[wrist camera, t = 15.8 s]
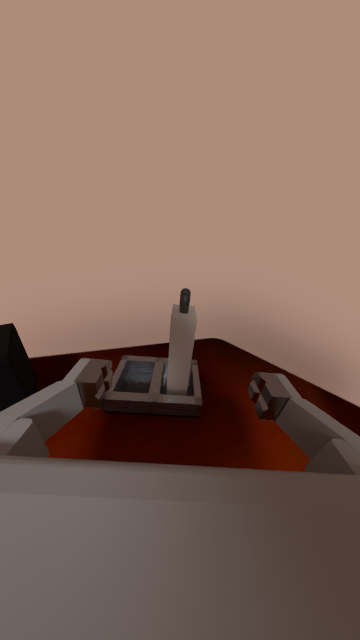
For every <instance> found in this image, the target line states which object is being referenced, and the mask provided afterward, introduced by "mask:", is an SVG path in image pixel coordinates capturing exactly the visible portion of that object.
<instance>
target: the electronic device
mask: <svg viewBox="0 0 360 640" xmlns="http://www.w3.org/2000/svg"><path fill="white" fill-rule="evenodd" d="M35 393H36V390H35V373H34V369H33V367H32V365H31V362H30V360H29V358H28V356H27V353H26V351H25V349H24V347H23V344H22V342H21V339H20V337H19V335H18V333H17V330H16V328H15V326H14V325H13V323H10V324H4V325H0V412H1V411H3V410H5V409H7V408H8V407H10V406H12V405H14V404H16V403H18V402H20V401H22V400H24V399H25V398H27V397H29V396H31V395H33V394H35Z"/></svg>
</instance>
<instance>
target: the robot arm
mask: <svg viewBox="0 0 360 640" xmlns="http://www.w3.org/2000/svg"><path fill="white" fill-rule="evenodd" d="M111 367H112V361H110V360H100V359H89V358H82V359H80V360H79V361H78V362H77V364H76V365H75V366H74V367H73V368H72V369H71V371H70V372H69V373H68V374H67V375H66V377H65V378H64V379H63V380H62V381H58V382H56V383H54V384H52V385H50V386H48V387H46V388H44V389H42V390H41V391H39V392H37V393H35V394H33V395H31V396H29V397H27V398H25V399H24V400H22V401H20V402H18V403H16V404H14V405H12V406H10V407H8V408H7V409H5V410H3V411H1V412H0V640H360V436H358V435H357V434H355V433H354V432H352V431H351V430H349V429H348V428H346V427H345V426H344V425H342V424H341V423H339V422H338V421H336V420H335V419H333V418H332V417H330V416H329V415H327V414H326V413H325V412H323V411H322V410H320V409H319V408H317V407H316V406H314V405H313V404H311V403H310V402H309V401H307V400H306V399H302V398H301V396H300V395H299V394H298V392H297V391H296V390H295V389H294V387H293V386H292V385H291V383H290V382H289V381H288V379H287V378H286V377H285V376H284V375H283V374H275V373H273V374H272V373H259V372H256V373H254V375H253V379H254V380H253V381H252V382H250V384H249V396H250V398H251V400H252V401H253V402H254V403H255V407H254V408H255V410H256V412H257V414H258V417H259V419H262V420H272V421H275V422H276V423H277V424H278V425H279V426H280V427H281V428H282V429H283V430H284V431H285V432H286V434H287V435H288V436H289V437H290V438H291V439H292V440H293V441H294V442H295V443H296V444H297V445H298V446H299V447H300V448H301V449H302V450H303V451H304V452H305V453H306V455H307V456H308V457H309V458H310V459H311V461H310V462H309V463H308V464H307V465H306V467H305V469H306V471H307V472H296V471H278V470H261V469H243V468H226V467H208V466H190V465H173V464H155V463H137V462H119V461H102V460H84V459H66V458H48V456H49V450H48V448H47V446H46V445H45V443H44V442H45V441H46V440H47V439H49V438H50V437H51V436H52V435H53V434H54V433H56V432H57V431H58V430H59V429H60V428H61V427H63V426H64V425H65V424H66V423H67V422H68V421H70V420H71V419H72V418H73V417H74V416H75V415H77V414H78V413H79V412H80V411H81V410H82V409H83V408H101V406H102V404H103V402H104V400H105V398H106V392H107V391H108V390H109V389H110V387H111V385H112V382H113V371H112V370H111Z"/></svg>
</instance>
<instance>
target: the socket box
mask: <svg viewBox="0 0 360 640" xmlns="http://www.w3.org/2000/svg"><path fill="white" fill-rule="evenodd" d="M168 359H169V358H157V357H142V356H127V355H123V357H122V359H121V361H120V363H119V365H118V367H117V369H116V371H115V373H114V375H113V382H112V385H111V387H110V389H109V390H108V391H107V392H106V398H105V400H104V402H103V408H104V412H108V413H126V414H143V415H161V416H179V417H197V418H200V415H201V410H202V405H203V404H202V396H201V389H200V381H199V373H198V365H197V360H191V366H190V373H189V380H188V387H187V394H186V396H182V395H166V393H167V376H168Z"/></svg>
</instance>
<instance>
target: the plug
mask: <svg viewBox="0 0 360 640" xmlns="http://www.w3.org/2000/svg"><path fill="white" fill-rule="evenodd" d="M189 303H190V290H189V289H187V288H185V289H183V290H182V291H181V295H180V305H173V308H172V315H171V325H170V342H169V359H168V376H167V393H166V395H182V396H186V394H187V387H188V380H189V373H190V366H191V359H192V352H193V345H194V337H195V330H196V323H197V318H196V312H195V306H189Z"/></svg>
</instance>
